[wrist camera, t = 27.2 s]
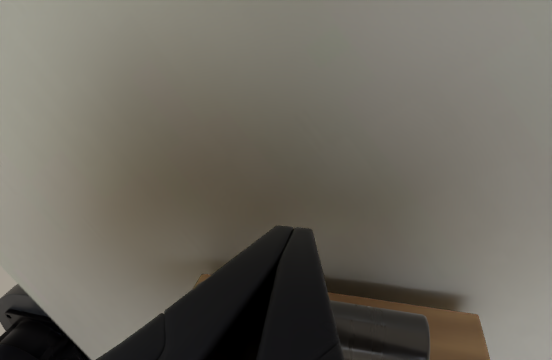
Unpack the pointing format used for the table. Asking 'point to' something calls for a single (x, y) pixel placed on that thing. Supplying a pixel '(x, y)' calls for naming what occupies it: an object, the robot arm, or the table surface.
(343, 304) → the drawer
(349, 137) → the table surface
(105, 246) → the table surface
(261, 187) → the table surface
